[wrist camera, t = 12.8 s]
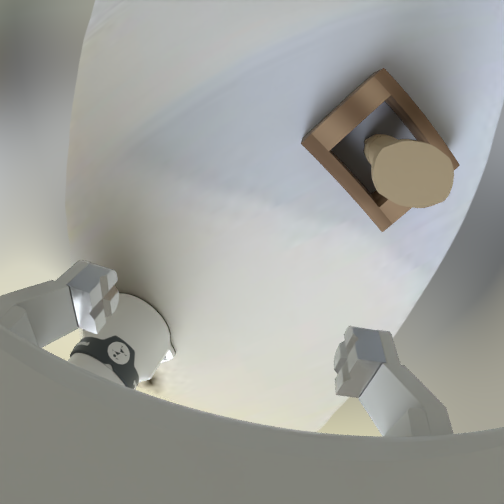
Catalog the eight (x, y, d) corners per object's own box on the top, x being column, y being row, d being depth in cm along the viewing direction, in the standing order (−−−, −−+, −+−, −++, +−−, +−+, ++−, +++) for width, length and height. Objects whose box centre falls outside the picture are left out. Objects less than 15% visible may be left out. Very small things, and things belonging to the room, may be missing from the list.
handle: (349, 124, 31) (376, 136, 18) (402, 130, 30) (457, 149, 17) (348, 164, 33) (370, 203, 20) (399, 169, 32) (448, 211, 19)
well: (374, 216, 36) (382, 232, 31) (302, 138, 33) (300, 143, 29) (442, 156, 30) (459, 165, 26) (374, 72, 28) (383, 67, 23)
